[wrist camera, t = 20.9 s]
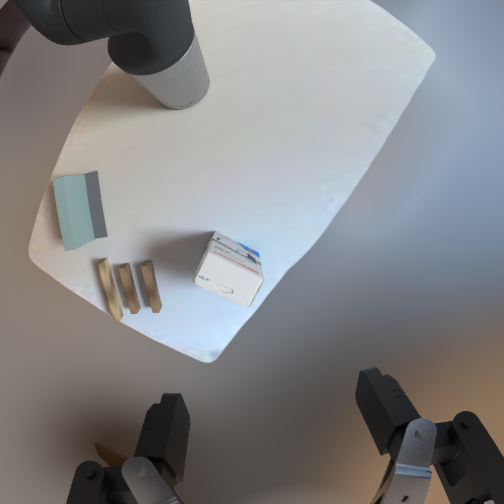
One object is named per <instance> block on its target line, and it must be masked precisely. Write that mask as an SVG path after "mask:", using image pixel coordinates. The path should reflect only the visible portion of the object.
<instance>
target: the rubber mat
mask: <svg viewBox="0 0 504 504" xmlns="http://www.w3.org/2000/svg"><path fill="white" fill-rule="evenodd" d="M84 175H85V181H86V189H87V196H88V203H89V209H90V215H91V221H92V226H93V231H94V236H95V239H96V238H102V237H107V231H106V226H105V220H104V215H103V209H102V202H101V195H100V188H99V180H98V172H97V171H95V172H91V173H88V174H84Z"/></svg>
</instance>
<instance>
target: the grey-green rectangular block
mask: <svg viewBox="0 0 504 504" xmlns="http://www.w3.org/2000/svg"><path fill="white" fill-rule="evenodd" d="M53 185H54V193H55V200H56V207H57V213H58V219H59V224H60V230H61V234H62V239H63V244H64V248H65V251H68V250H74V249H77V248H79V247H81V246H83V245H85V244H86V243H88V242H90V241H92V240H94V239H95V236H94V231H93V226H92V221H91V215H90V209H89V203H88V196H87V189H86V181H85V175H73V176H63V177H60V178H57V179H54V180H53Z"/></svg>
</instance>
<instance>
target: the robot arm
mask: <svg viewBox="0 0 504 504" xmlns="http://www.w3.org/2000/svg"><path fill="white" fill-rule="evenodd" d="M9 1H10V2H11V3H12V4H13V5H14V7H15V8H16V9H17V10H18V11H19V12H20V13H21V14H22V15H23V16H24V17H25V18H26V19H27V21H28V22H29V23H30V24H31V25H32V26H33V27H34V28H35V29H36V30H37V31H39V32H40V33H41V34H42V35H43V36H45V37H46V38H47V39H49V40H51V41H52V42H55V43H57V44H61V45H77V44H82V43H86V42H90V41H93V40H98V39H102V38H106V37H109V40H108V53H109V55H110V58H111V59H112V61H113V62H114V63H115V64H116V65H117V66H118V67H119V68H121V69H122V70H123V71H124V72H125V73H127V74H128V75H129V76H130V77H132V78H133V79H134V80H135V81H136V82H137V83H139V84H140V85H141V86H142V87H143V88H144V89H146V90H147V91H148V92H149V93H150V94H151V95H153V96H154V97H155V98H156V99H157V100H158V101H159V102H160V103H162V104H163V105H164V106H166V107H168V108H171V109H185V108H188V107H191V106H193V105H195V104H196V103H198V102H199V101H200V100H201V99H202V98H203V97H204V95H205V94H206V92H207V90H208V87H209V76H208V73H207V70H206V66H205V63H204V59H203V56H202V53H201V49H200V46H199V43H198V39H197V37H196V33H195V30H194V27H193V24H192V19H191V13H190V7H189V2H188V0H9ZM355 396H356V402H357V405H358V407H359V409H360V411H361V413H362V416H363V418H364V420H365V422H366V424H367V426H368V429H369V431H370V433H371V435H372V437H373V439H374V442H375V444H376V446H377V448H378V450H379V453H380V455H384V454H387V453H389V454H390V456H391V458H390V460H389V463H388V465H387V468H386V471H385V473H384V476H383V478H382V481H381V483H380V486H379V488H378V490H377V492H376V494H375V496H374V497H373V499H372V501H371V503H370V504H423V503H424V501H425V498H426V494H427V491H428V487H429V484H430V481H431V476H432V472H431V471H429V468H430V465H432V464H433V465H434V467H435V469H436V472H437V474H438V476H439V478H440V480H441V483H442V485H443V487H444V490H445V492H446V494H447V496H448V499H449V501H450V504H504V457H503V456H502V454H501V452H500V451H499V449H498V447H497V446H496V444H495V443H494V441H493V439H492V438H491V436H490V435H489V433H488V432H487V430H486V429H485V427H484V426H483V424H482V423H481V421H480V420H479V418H478V417H477V416H476V415H475V414H474V413H472V412H469V411H463V412H460V413H458V414H457V415H456V416H455V417H454V419H453V421H448V422H443V423H433V422H432V421H431V420H429V419H425V418H421V416H420V415H419V414H418V412H417V411H416V409H415V407H414V406H413V404H412V403H411V402H410V400H409V399H408V397H407V396H406V395H405V392H404V391H403V390H402V389H401V387H400V385H399V384H398V382H397V381H396V380H395V379H394V378H392V377H391V376H389V375H384V376H383V375H382V374H381V372H380V371H379V369H378V368H377V367H373V368H369V369H366V370H362V371H360V373H359V377H358V383H357V388H356V394H355ZM142 428H143V429H142V430H141V433H140V437H139V440H138V444H137V447H136V450H135V454H134V456H133V457H132V458H130V459H128V460H127V461H126V462H124V464H123V465H121V466H112V467H102V466H101V465H100V464H98V463H97V462H94V461H85V462H83V463H81V464H80V465H79V466H78V467H77V469H76V472H75V475H74V478H73V482H72V485H71V488H70V492H69V495H68V499H67V503H66V504H185V503H184V501H183V500H182V499H181V498H180V496H179V495H178V494H177V492H176V491H175V490H174V485H175V482H183V476H184V468H185V459H186V452H187V445H188V437H189V430H190V416H189V412H188V410H187V408H186V405H185V403H184V400H183V397H182V395H181V394H180V393H164V394H163V395H162V398H161V402H160V404H153V405H152V406H151V407H150V409H149V410H148V411H147V413H146V417H145V422H144V424H143V426H142Z"/></svg>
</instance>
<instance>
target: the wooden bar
mask: <svg viewBox="0 0 504 504" xmlns="http://www.w3.org/2000/svg"><path fill="white" fill-rule="evenodd" d="M98 272H99V276H100V280H101V283H102V287H103V290H104V294H105V297H106V300H107V303H108V307H109V310H110V313H111V316H112V317H113V319H114V320H115V322H116V323H119V321H120V320H121V318H122V317H123V312H122V309H121V306H120V302H119V299H118V296H117V292H116V289H115V285H114V281H113V278H112V274H111V270H110V266H109V262H108V258H105V259H104V260H102V261H101V262H100V263H99V264H98Z"/></svg>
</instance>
